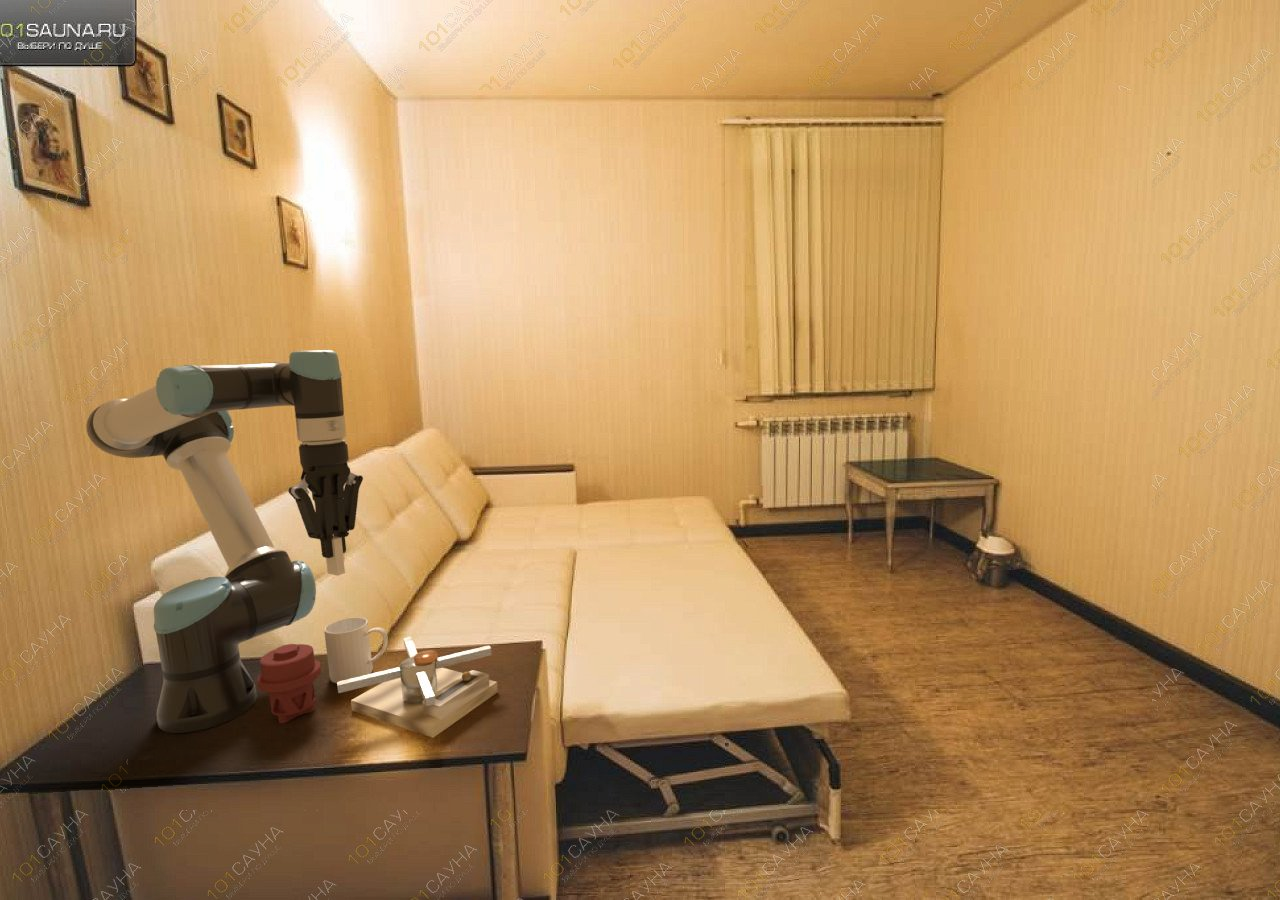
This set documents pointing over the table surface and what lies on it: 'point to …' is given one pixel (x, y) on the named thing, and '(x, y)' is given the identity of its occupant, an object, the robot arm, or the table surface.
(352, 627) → the mug
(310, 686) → the mechanical component
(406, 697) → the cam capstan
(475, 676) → the stand
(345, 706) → the table surface
